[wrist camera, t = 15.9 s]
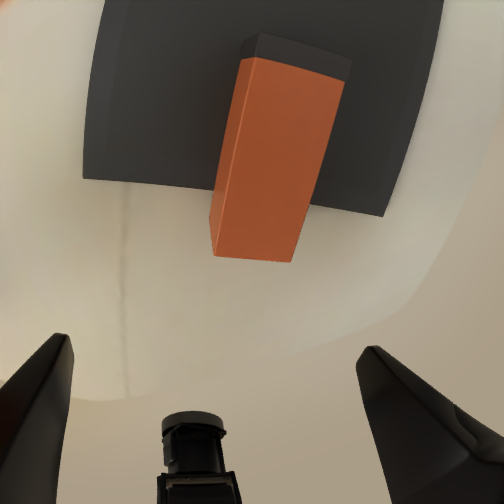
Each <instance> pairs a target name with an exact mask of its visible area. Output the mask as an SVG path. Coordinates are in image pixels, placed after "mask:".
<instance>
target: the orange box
mask: <svg viewBox="0 0 504 504" xmlns="http://www.w3.org/2000/svg"><path fill="white" fill-rule="evenodd" d="M240 60H241V62H240V66H239V71H238V75H237V79H236V84H235V88H234V93H233V97H232V102H231V107H230V111H229V116H228V121H227V126H226V130H225V135H224V140H223V145H222V150H221V156H220V161H219V166H218V171H217V177H216V182H215V187H214V193H213V198H212V204H211V210H210V216H209V222H210V231H211V239H212V247H213V254H214V256H220V257H231V258H242V259H254V260H265V261H277V262H291V259H292V256H293V253H294V250H295V247H296V244H297V241H298V238H299V235H300V232H301V229H302V226H303V223H304V220H305V216H306V213H307V210H308V207H309V204H310V200H311V197H312V194H313V191H314V188H315V184H316V181H317V178H318V174H319V171H320V168H321V164H322V161H323V158H324V154H325V151H326V148H327V144H328V141H329V137H330V134H331V130H332V127H333V123H334V120H335V116H336V113H337V109H338V106H339V102H340V98H341V95H342V91H343V87H344V84H345V82H347V80H348V77H349V73H350V69H351V65H352V61H353V60H352V59H351V58H348V57H345V56H343V55H340V54H337V53H334V52H331V51H328V50H325V49H322V48H319V47H316V46H313V45H310V44H307V43H303V42H300V41H297V40H293V39H289V38H286V37H282V36H278V35H274V34H270V33H266V32H262V31H261V32H259V33H257V34H255V35H253V36H251V37H250V38H248V39H246V40H245V41H244V44H243V48H242V52H241V56H240Z"/></svg>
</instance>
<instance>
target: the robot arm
mask: <svg viewBox="0 0 504 504" xmlns="http://www.w3.org/2000/svg"><path fill="white" fill-rule="evenodd" d="M73 366H74V353H73V349H72V345H71V341H70V337H69V336H68V335H67V334H62V333H54V334H53V335H52V336H51V337H50V338H49V339H48V340H47V341H46V342H45V343H44V344H43V345H42V346H41V347H40V348H39V349H38V350H37V351H36V352H35V353H34V354H33V355H32V356H31V357H30V358H29V359H28V360H27V361H26V362H25V363H24V364H23V365H22V366H21V367H20V368H19V369H18V370H17V371H16V372H15V374H14V375H13V376H12V377H11V378H10V379H9V380H8V381H7V382H6V383H5V384H4V385H3V386H2V388H1V389H0V504H56V497H57V486H58V477H59V468H60V459H61V453H62V446H63V440H64V434H65V428H66V422H67V417H68V411H69V404H70V393H71V383H72V374H73ZM356 372H357V376H358V381H359V386H360V390H361V395H362V400H363V404H364V408H365V411H366V415H367V418H368V421H369V425H370V428H371V431H372V434H373V437H374V441H375V444H376V448H377V451H378V454H379V458H380V461H381V465H382V468H383V472H384V475H385V479H386V483H387V486H388V490H389V494H390V498H391V502H392V504H504V437H502V436H500V435H499V434H497V433H496V432H494V431H493V430H491V429H490V428H488V427H486V426H485V425H483V424H481V423H480V422H479V421H477V420H476V419H474V418H473V417H471V416H470V415H469V414H467V413H466V412H464V411H463V410H461V409H460V408H459V407H458V406H457V405H455V404H453V402H451V401H450V400H449V399H447V398H446V397H445V396H443V395H442V394H441V393H439V392H438V391H437V390H436V389H434V388H433V387H432V386H431V385H429V384H428V383H427V382H425V381H424V380H423V379H421V378H420V377H419V376H417V375H416V374H415V373H414V372H412V371H411V370H410V369H408V368H407V367H406V366H404V365H403V364H402V363H400V362H399V361H398V360H397V359H395V358H394V357H392V356H391V355H390V354H389V353H387V352H386V351H385V350H383V349H382V348H381V347H379V346H377V345H375V346H367V347H366V348H365V349H364V351H363V353H362V354H361V356H360V357H359V359H358V361H357V363H356ZM226 434H227V431H226V430H223V429H216V428H210V427H205V426H199V425H194V424H189V423H183V422H181V423H179V424H178V425H176V426H175V427H174V428H173V429H172V430H171V431H170V432H169V433H168V434H167V435H166V436H165V437H164V438H163V439H162V443H163V452H164V465H165V466H167V467H168V473H161V476H158V477H157V504H242V500H241V496H240V492H239V488H238V484H237V481H236V477H235V473H234V471H229V472H226V470H225V464H224V458H223V451H222V444H221V438H222V437H224V436H225V435H226Z"/></svg>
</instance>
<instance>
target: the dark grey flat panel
mask: <svg viewBox="0 0 504 504" xmlns="http://www.w3.org/2000/svg"><path fill="white" fill-rule="evenodd" d="M443 2H444V0H105V4H104V8H103V12H102V16H101V21H100V25H99V30H98V35H97V40H96V45H95V50H94V56H93V62H92V68H91V75H90V82H89V90H88V98H87V107H86V118H85V131H84V148H83V179H97V180H111V181H123V182H135V183H147V184H157V185H167V186H177V187H186V188H195V189H204V190H213V191H214V187H215V182H216V177H217V171H218V166H219V161H220V156H221V150H222V145H223V140H224V135H225V130H226V126H227V121H228V116H229V111H230V107H231V102H232V97H233V93H234V88H235V84H236V79H237V75H238V71H239V66H240V62H241V60H240V56H241V52H242V48H243V44H244V41H245V40H246V39H248V38H250V37H251V36H253V35H255V34H257V33H259V32H261V31H262V32H266V33H270V34H274V35H278V36H282V37H286V38H289V39H293V40H297V41H300V42H303V43H307V44H310V45H313V46H316V47H319V48H322V49H325V50H328V51H331V52H334V53H337V54H340V55H343V56H345V57H348V58H351V59H352V60H353V61H352V65H351V69H350V73H349V77H348V80H347V82H345V84H344V87H343V91H342V95H341V98H340V102H339V106H338V109H337V113H336V116H335V120H334V123H333V127H332V130H331V134H330V137H329V141H328V144H327V148H326V151H325V154H324V158H323V161H322V164H321V168H320V171H319V174H318V178H317V181H316V184H315V188H314V191H313V194H312V197H311V200H310V204H312V205H318V206H324V207H330V208H336V209H341V210H347V211H353V212H358V213H364V214H369V215H374V216H379V217H383V216H384V213H385V210H386V208H387V205H388V203H389V200H390V197H391V195H392V192H393V189H394V187H395V184H396V181H397V178H398V175H399V173H400V170H401V167H402V164H403V161H404V158H405V155H406V152H407V149H408V146H409V143H410V140H411V137H412V133H413V130H414V127H415V123H416V120H417V117H418V113H419V110H420V106H421V103H422V99H423V95H424V92H425V88H426V84H427V80H428V76H429V72H430V68H431V64H432V59H433V55H434V50H435V46H436V41H437V36H438V31H439V26H440V20H441V14H442V8H443Z"/></svg>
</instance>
